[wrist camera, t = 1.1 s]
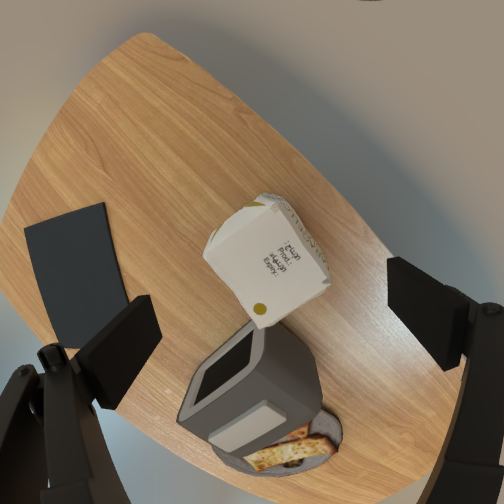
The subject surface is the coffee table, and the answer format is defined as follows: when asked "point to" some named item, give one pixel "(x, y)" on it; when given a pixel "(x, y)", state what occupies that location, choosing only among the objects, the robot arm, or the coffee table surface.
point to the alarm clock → (252, 391)
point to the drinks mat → (77, 273)
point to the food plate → (292, 450)
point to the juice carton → (268, 259)
